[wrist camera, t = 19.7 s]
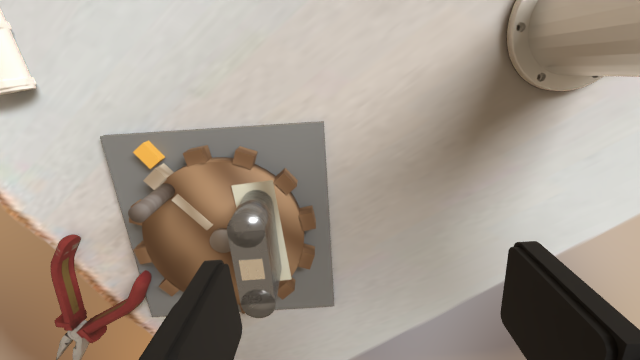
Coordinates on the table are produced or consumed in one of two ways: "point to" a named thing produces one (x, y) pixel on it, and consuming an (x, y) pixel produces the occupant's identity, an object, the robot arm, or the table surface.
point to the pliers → (73, 303)
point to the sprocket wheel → (215, 217)
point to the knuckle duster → (12, 63)
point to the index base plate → (269, 140)
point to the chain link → (255, 253)
